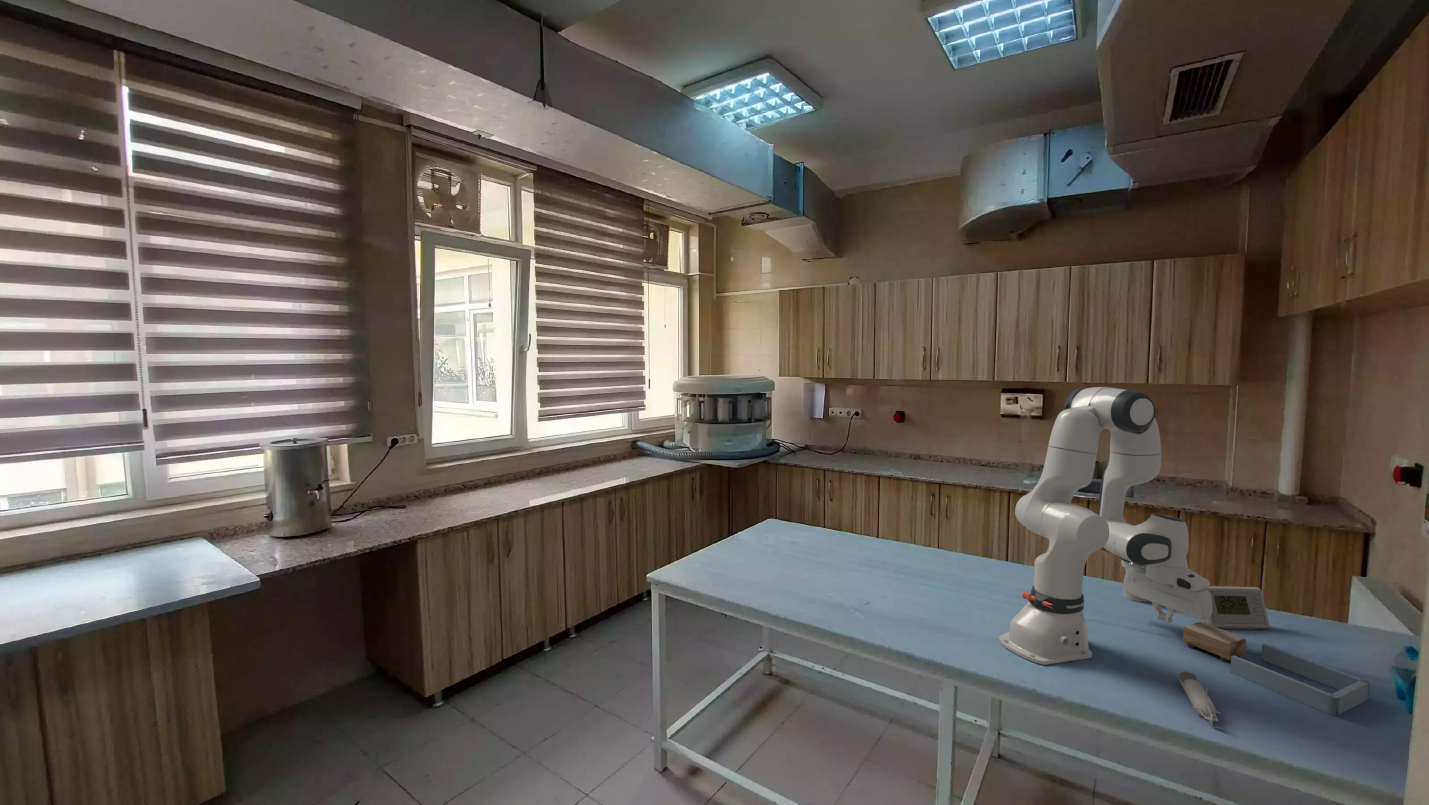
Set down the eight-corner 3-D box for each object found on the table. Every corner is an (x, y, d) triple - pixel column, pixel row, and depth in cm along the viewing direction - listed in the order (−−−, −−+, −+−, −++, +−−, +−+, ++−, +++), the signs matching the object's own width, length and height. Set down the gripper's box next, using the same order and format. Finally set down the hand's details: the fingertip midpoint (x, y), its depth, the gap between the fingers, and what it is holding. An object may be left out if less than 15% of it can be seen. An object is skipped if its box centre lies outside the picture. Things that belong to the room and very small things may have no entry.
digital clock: (1204, 628, 154) (1206, 591, 153) (1188, 614, 163) (1190, 579, 162) (1278, 636, 149) (1280, 598, 148) (1257, 620, 158) (1259, 584, 157)
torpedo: (1171, 680, 132) (1172, 653, 131) (1197, 684, 130) (1198, 658, 129) (1197, 726, 116) (1198, 696, 115) (1227, 732, 114) (1228, 702, 113)
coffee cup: (1157, 604, 169) (1159, 557, 168) (1126, 602, 171) (1128, 555, 170) (1142, 592, 177) (1144, 547, 176) (1113, 591, 179) (1114, 546, 178)
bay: (1335, 716, 117) (1336, 698, 116) (1230, 672, 134) (1231, 656, 133) (1369, 699, 122) (1370, 682, 122) (1264, 658, 139) (1264, 643, 138)
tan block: (1229, 664, 137) (1230, 644, 136) (1182, 645, 146) (1183, 626, 146) (1245, 658, 139) (1246, 638, 139) (1198, 639, 149) (1199, 620, 148)
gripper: (1118, 561, 160) (1117, 607, 161) (1202, 588, 141) (1200, 639, 143) (1132, 558, 163) (1131, 603, 164) (1217, 583, 144) (1214, 634, 145)
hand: (1164, 620), depth 153 cm, fingers closed
